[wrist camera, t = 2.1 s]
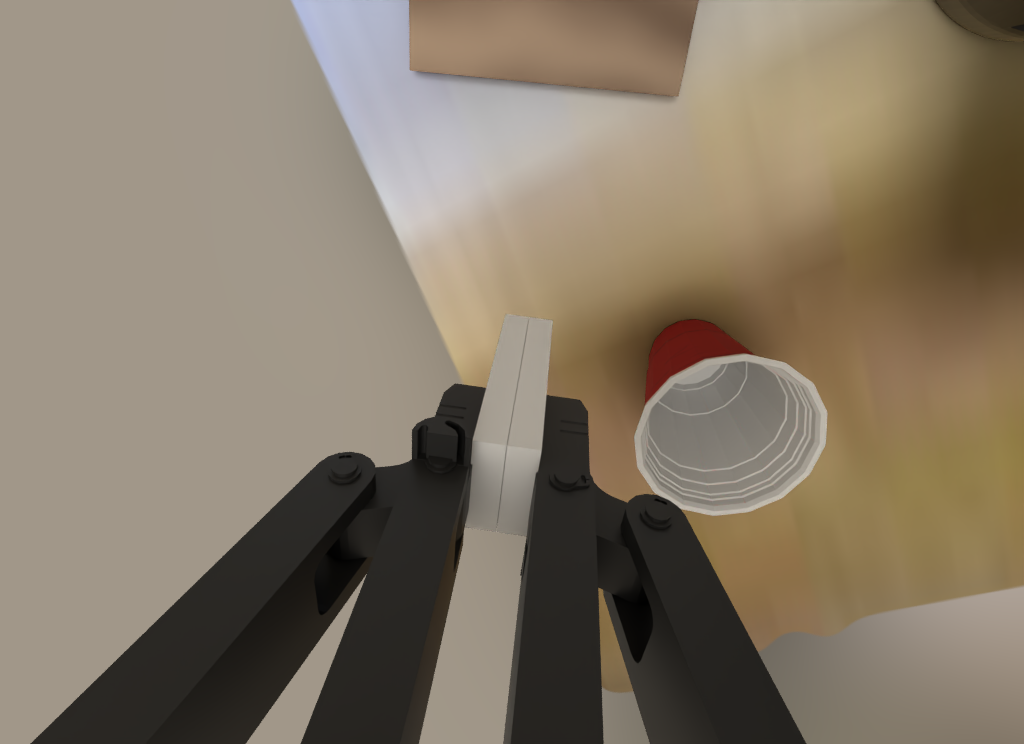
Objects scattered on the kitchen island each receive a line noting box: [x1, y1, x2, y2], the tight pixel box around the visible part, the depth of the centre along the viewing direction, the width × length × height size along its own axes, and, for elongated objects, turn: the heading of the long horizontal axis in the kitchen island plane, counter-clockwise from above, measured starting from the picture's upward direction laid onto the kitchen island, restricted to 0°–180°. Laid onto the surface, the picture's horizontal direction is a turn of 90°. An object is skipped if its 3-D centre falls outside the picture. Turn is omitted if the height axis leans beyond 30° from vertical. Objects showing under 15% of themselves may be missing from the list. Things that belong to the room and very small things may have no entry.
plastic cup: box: [634, 319, 827, 516], centre depth 36 cm, size 11×11×12 cm
